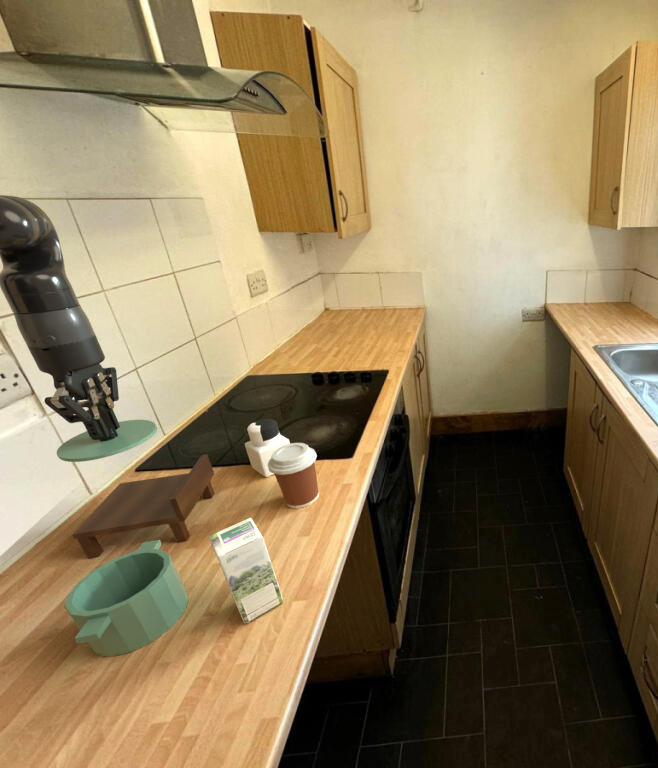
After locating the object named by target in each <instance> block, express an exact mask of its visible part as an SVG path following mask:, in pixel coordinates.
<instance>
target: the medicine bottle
mask: <svg viewBox="0 0 658 768" xmlns="http://www.w3.org/2000/svg"><path fill="white" fill-rule="evenodd" d="M278 426H279V425H278V423H277V421H276V420H275V419H272V418H263V419H259V420H255V421H253V422H251V423H250V424H248V426H247V428H246V429H247V434H248V437H249V441H247V442H245V443H244V447H245V450H246V453H247V457H248V459H249V462H250V466H251V468H252V469H253V470H254V471H256V472H257V473H259V474H260V475H261V476H262V477H264V478H269V477H271V476H273V475H275V474H274V473H272V472H270V471H269V468H268V465H267V464H268V462H269V460H270V459H271V456H272V454H273V452H274V451H276V450H277V449H278V448H280V447H282V446H284V445H288V444H291V442H290V439H289V438H287V437H285V436H284V435H282V434H281V432H280V430H279V427H278Z"/></svg>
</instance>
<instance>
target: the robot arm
mask: <svg viewBox="0 0 658 768" xmlns="http://www.w3.org/2000/svg"><path fill="white" fill-rule="evenodd" d="M0 260H1V263H2V270H1V271H0V290H1V292H2V294H3V296H4V298H5V300H6V302H7V304H8V306H9V308H10V310H11V312H12V313H13V316H14V319H15V322H16V326H17V329H18V332H19V333H20V335H21V337H22V339H23V341H24V342H25V345H26V347H27V349H28V351H29V353H30V355H31V356H32V358H33V360H34V362H35V364H36V366H37V368H38V370H39V371H40V372H42V373H44V374H48V375H50V376H51V377H52V380H53V386H54V389H55V392H54V394H53V396H46V397H45V398H44V404H45V405H46V406H48V407H49V408H50V409H51V410H53V412H55V413H56V414H57V415H58V416H60V417H61V418H62V419H64V420H65V421H66V422H67V423H69V424H75V423H82V424H83V425H84V428H85V430H86V431H88V433H89V436H90V437H91V438H92V439H93V440H101V439H106V438H107V437H109V435H110V434H109V432H108V430H107V428H106V426H105V423H104V421H103V419H102V417H100V414H99V411H98V408H97V407H98V406H105V408H106V410H107V412H108V414H109V416H110V418H111V421H112V423H113V425H114V427H115V429H116V430H117V429H118V428H119V427H120V425H119V423H118V422H119V420H118V418H117V416H116V413H115V411H114V408H115V402H118V401H119V400H120V396H119V386H118V373H117V369H116V367H114V366H111V367H103V366H102V364H101V363H103V362H104V361H105V359H106V356H105V353H104V351H103V349H102V347H101V344H100V342H99V340H98V338H97V335H96V333H95V331H94V328H93V326H92V324H91V321H90V319H89V317H88V315H87V313H86V312H85V311H84V309H83V307H82V306H81V304H80V302H79V299H78V297H77V294H76V292H75V290H74V288H73V285H72V283H71V281H70V279H69V277H68V276H67V273H66V272H67V271H66V267H65V260H64V255H63V250H62V246H61V241H60V239H59V235H58V233H57V230H56V227H55V225H54V224H53V221H52V220H51V218H50V216H49V215H48V214H47V213H46V212H45V211H44V210H43V209H42V208H40V207H39V206H38V205H37V204H35V203H34V202H33V201H30V200H28V199H25V198H23V197H20V196H15V195H6V194H5V195H4V194H3V195H2V194H0ZM85 408H86V409H87V410H88V409H89V412H90V413H88V412H87V410H86V409H85Z"/></svg>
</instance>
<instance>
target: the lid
mask: <svg viewBox="0 0 658 768" xmlns="http://www.w3.org/2000/svg"><path fill="white" fill-rule="evenodd" d="M97 408H98V411H99V414H100V417H102V419H103V421H104V423H105V426H106V428H107V430H108V432H109V434H110V435H109V437H107V438H106V439H101V440H93V439H92V438H91V437H90V436H89V433H88V431H87V430H86V431H84V432H82V433H79V434H77V435H75V436H73V437H71V438H69V439H68V440H66V441H65V442H63V443H62V444H61V445H60V446H59V447H58V448H57V450H56V456H57V457H58V459H60V460H61V461H64V462H68V463H80V462H81V463H82V462H88V461H89V462H90V461H95V460H100V459H104V458H107V457H111V456H115V455H118V454H121V453H124V452H126V451H129V450H131V449H133V448H136V447H137V446H140V445H141V444H143V443H145V442H147V441H148V440H149V439H151V438H152V437H154V436H155V434H156V433H157V431H158V426H157V424H156V423H155V422H154V421H152V420H149V419H128V420H122V421H118V423H119V425H120V427H119V428H118V429H117V430H116V429H115V427H114V425H113V423H112V421H111V418H110V416H109V414H108V412H107V410H106V408H105V406H98V407H97ZM86 411H87V412H88V413H90V412H89V409H88V408H87V410H86Z"/></svg>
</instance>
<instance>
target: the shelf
mask: <svg viewBox="0 0 658 768" xmlns="http://www.w3.org/2000/svg"><path fill="white" fill-rule="evenodd" d="M214 476H215V471H214V468H213V466H212V463H211V460H210V457H209V455H208V453H205V454H202V455H201V456H200V457H199V458H198V460H197V461H196V463H195V464H194V465H193V467H192V468H191V470H190V471H189V472H188V473H181V474H180V473H179V474H174V475H168V476H160V477H154V478H146V479H140V480H134V481H126V482H120V483H119V484H118V485H117V486H116V487H115V488H114V489H113V490H112V491H111V492H110V493H109V494H108V495H107V496H106V498H104V500H103V501H102V502H101V503H100V504H99V505H98V506H97V507H96V508H95V509H94V510H93V512H91V513H90V514H89V516H88V517H86V518H85V520H84V521H83V522H82V523H81V524H80V525H79V526H78V527H77V528H76V529H75V530H74V531H73V532H72V533H71V536H72V538H73V540H74V541H76V540H77V542H78V544H79V546H80V548H81V549H82V550H83V553H85V556H86V558H87V559H88V560H89V559H90V560H91V559H95V558H99V557H100V556H101V555H102V554H103V552H104V549H103V547H102V545H101V543H100V542H99V540H98V538H97V537H99V536H104V535H110V534H115V533H121V532H128V531H133V530H139V529H140V530H141V529H146V528H151V527H157V526H163V525H168V526H169V528H170V530H171V532H172V535H173V537H174V539H175V541H176V543H177V544H178V543H183V542H187V541H188V540H189V538H190V537H191V534H190V531H189V529H188V526H187V525H186V520H187V519H188V517H189V516H190V514H191V512H192V511H193V509H194V508H195V506H196V505H197V503H198V501H199V499H200V498H201V497H202V498H203V500H206V499H212V498H213V497H214V495H215V490H214V487H213V485H212V483H211V481H212V479H213V477H214Z"/></svg>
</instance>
